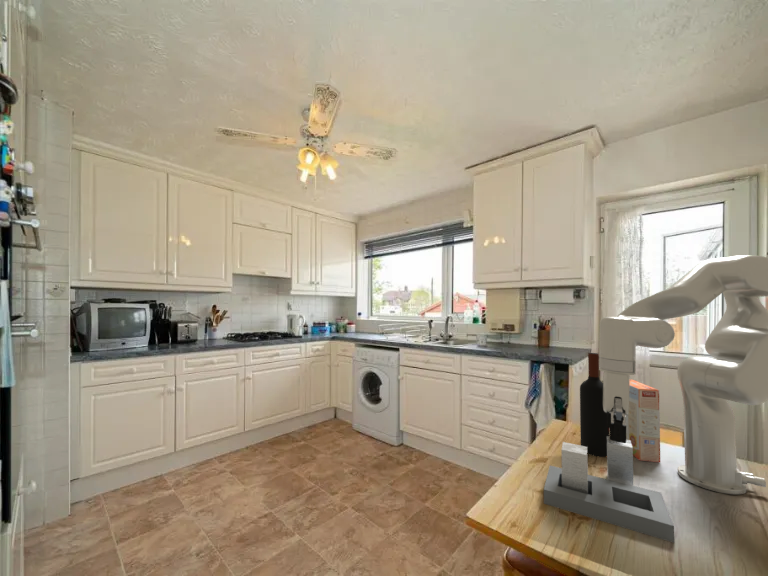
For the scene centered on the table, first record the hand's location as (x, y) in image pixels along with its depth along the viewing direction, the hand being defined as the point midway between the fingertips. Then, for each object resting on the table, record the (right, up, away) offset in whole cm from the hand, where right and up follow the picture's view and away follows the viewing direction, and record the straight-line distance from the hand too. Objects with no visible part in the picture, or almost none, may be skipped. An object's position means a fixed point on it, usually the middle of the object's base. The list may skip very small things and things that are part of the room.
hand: (616, 434), depth 82 cm
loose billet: (+1, -13, -1) cm, 13 cm away
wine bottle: (+7, -14, +19) cm, 25 cm away
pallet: (-10, -12, -10) cm, 18 cm away
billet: (-14, -11, -7) cm, 19 cm away
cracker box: (+20, -14, +19) cm, 31 cm away
